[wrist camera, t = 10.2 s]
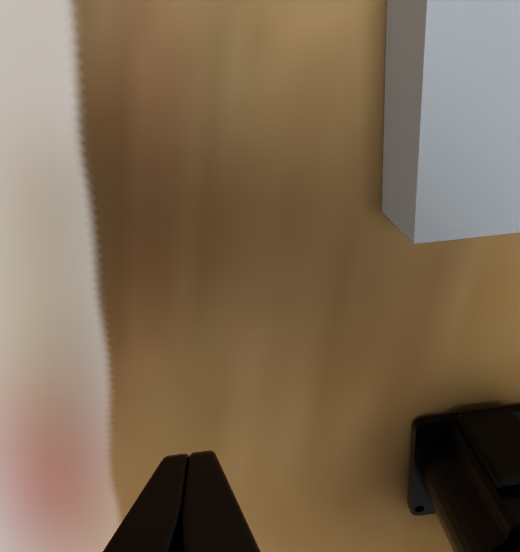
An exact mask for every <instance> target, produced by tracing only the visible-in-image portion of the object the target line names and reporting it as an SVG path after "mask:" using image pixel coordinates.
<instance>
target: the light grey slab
mask: <svg viewBox="0 0 520 552" xmlns="http://www.w3.org/2000/svg"><path fill="white" fill-rule="evenodd" d="M382 213H383V214H384V215H385V216H386V217H387V218H388V219H389V220H390V221H391V222H392V223H393V224H394V225H395V226H396V227H397V228H398V229H399V230H400V231H401V232H402V233H403V234H404V235H405V236H406V237H407V238H408V239H409V240H410V241H411V242H412V243H413V244H419V243H428V242H437V241H446V240H455V239H464V238H473V237H482V236H492V235H501V234H510V233H519V232H520V0H387V11H386V54H385V97H384V140H383V183H382Z"/></svg>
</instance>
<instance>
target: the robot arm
mask: <svg viewBox="0 0 520 552" xmlns="http://www.w3.org/2000/svg"><path fill="white" fill-rule="evenodd" d="M424 427H426V428H425V429H423V428H424ZM408 507H409V509H410V512H411V513H412V514H413V515H426V514H434V513H436V515H437V517H438V519H439V521H440V523H441V525H442V527H443V530H444V532H445V534H446V536H447V538H448V540H449V542H450V545H451V547H452V549H453V551H454V552H520V406H512V407H504V408H496V409H488V410H480V411H472V412H464V413H456V414H447V415H439V416H431V417H423V418H420V419H418V420H416V421H415V423H414V424H413V431H412V446H411V462H410V477H409V492H408ZM103 552H260V550H259V548H258V545H257V543H256V541H255V539H254V537H253V535H252V532H251V530H250V528H249V526H248V524H247V522H246V519H245V517H244V515H243V513H242V511H241V509H240V506H239V504H238V502H237V500H236V498H235V496H234V493H233V491H232V489H231V487H230V485H229V483H228V480H227V478H226V476H225V474H224V472H223V470H222V467H221V465H220V463H219V461H218V459H217V457H216V454H215V453H214V452H213V451H203V452H194V453H192V454H191V455H190V456H189V455H187V454H178V455H170V456H166V457H165V458H164V459H163V460H162V461H161V463H160V464H159V466H158V467H157V469H156V470H155V472H154V474H153V475H152V477H151V478H150V480H149V481H148V483H147V484H146V486H145V487H144V489H143V491H142V492H141V494H140V495H139V497H138V498H137V500H136V501H135V503H134V504H133V506H132V508H131V509H130V511H129V512H128V514H127V515H126V517H125V518H124V520H123V521H122V523H121V524H120V526H119V528H118V529H117V531H116V532H115V534H114V535H113V537H112V539H111V540H110V541H109V543H108V545H107V546H106V548H105V549H104V551H103Z"/></svg>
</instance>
